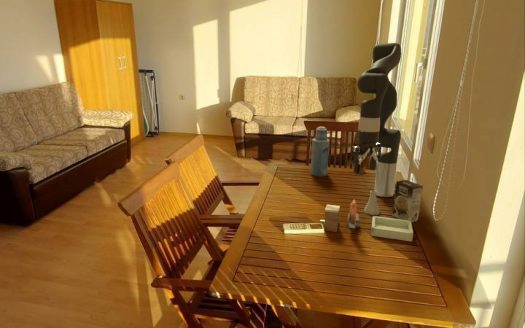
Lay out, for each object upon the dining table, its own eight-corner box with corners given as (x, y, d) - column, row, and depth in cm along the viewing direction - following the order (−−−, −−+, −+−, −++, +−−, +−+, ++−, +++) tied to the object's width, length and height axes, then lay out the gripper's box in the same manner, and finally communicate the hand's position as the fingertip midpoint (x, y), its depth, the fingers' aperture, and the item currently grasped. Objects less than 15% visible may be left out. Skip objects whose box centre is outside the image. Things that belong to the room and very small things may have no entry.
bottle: (317, 174, 219) (320, 124, 211) (330, 178, 212) (333, 127, 203) (306, 177, 213) (309, 126, 205) (319, 181, 206) (322, 129, 197)
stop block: (325, 224, 151) (326, 204, 149) (338, 226, 150) (339, 206, 147) (323, 230, 147) (325, 209, 144) (336, 232, 145) (338, 210, 143)
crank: (348, 217, 153) (350, 192, 150) (359, 218, 152) (361, 193, 149) (345, 229, 142) (347, 202, 139) (357, 231, 141) (359, 204, 138)
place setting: (341, 178, 214) (342, 168, 212) (346, 169, 232) (346, 160, 231) (372, 181, 208) (373, 172, 207) (374, 172, 226) (375, 163, 225)
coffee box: (391, 215, 161) (395, 181, 157) (401, 213, 164) (406, 179, 160) (407, 223, 153) (412, 187, 149) (418, 220, 156) (423, 185, 152)
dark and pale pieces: (321, 217, 158) (322, 206, 157) (359, 222, 154) (360, 211, 152) (319, 223, 153) (320, 212, 151) (358, 228, 148) (359, 217, 147)
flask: (380, 216, 161) (383, 194, 158) (363, 214, 162) (365, 193, 159) (379, 209, 167) (381, 189, 165) (362, 208, 169) (364, 188, 166)
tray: (371, 223, 153) (372, 215, 153) (410, 228, 149) (411, 220, 148) (371, 235, 142) (371, 227, 142) (412, 241, 138) (413, 233, 137)
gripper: (373, 126, 141) (369, 166, 145) (347, 129, 133) (344, 172, 137) (389, 129, 135) (384, 171, 139) (363, 132, 127) (359, 177, 131)
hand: (364, 171), depth 138 cm, fingers open, 8 cm apart
